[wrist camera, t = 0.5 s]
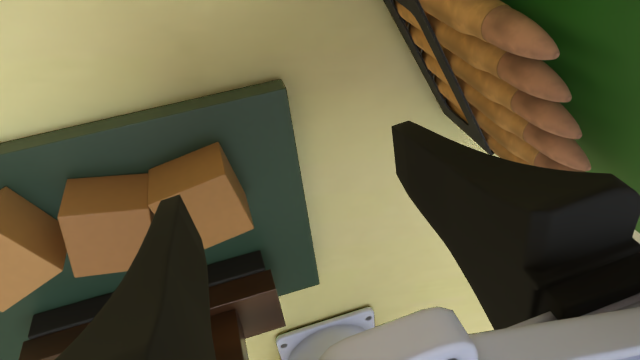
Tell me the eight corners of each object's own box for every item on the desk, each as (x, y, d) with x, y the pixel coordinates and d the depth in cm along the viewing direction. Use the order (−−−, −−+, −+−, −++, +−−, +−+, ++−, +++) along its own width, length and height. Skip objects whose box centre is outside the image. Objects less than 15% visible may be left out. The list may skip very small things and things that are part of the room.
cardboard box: (245, 194, 26) (254, 229, 24) (182, 220, 26) (184, 258, 24) (218, 141, 24) (225, 173, 21) (147, 169, 23) (146, 205, 21)
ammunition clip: (362, -39, 22) (519, 50, 12) (395, -65, 21) (580, 6, 12) (445, 115, 28) (588, 249, 19) (470, 96, 28) (628, 223, 19)
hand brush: (275, 289, 31) (299, 377, 26) (58, 354, 29) (38, 464, 24) (264, 248, 29) (288, 336, 24) (27, 316, 27) (-4, 429, 22)
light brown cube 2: (157, 229, 26) (157, 268, 23) (81, 237, 25) (74, 278, 22) (149, 172, 24) (149, 208, 21) (66, 178, 23) (56, 217, 20)
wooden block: (71, 229, 24) (63, 270, 22) (16, 268, 25) (2, 313, 22) (5, 185, 22) (-12, 226, 20) (-55, 229, 22) (-79, 274, 20)
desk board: (315, 271, 33) (319, 284, 32) (19, 360, 30) (14, 377, 29) (281, 78, 24) (286, 88, 23) (-150, 177, 21) (-165, 193, 20)
